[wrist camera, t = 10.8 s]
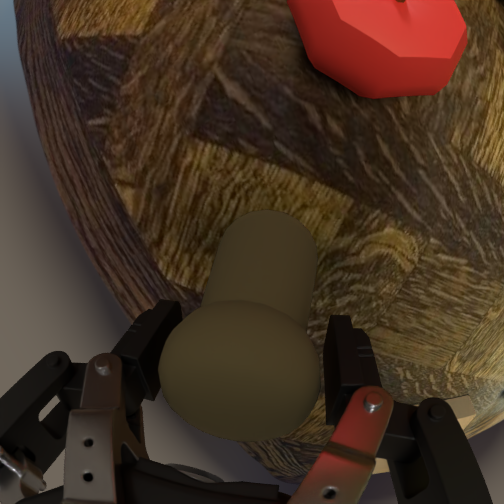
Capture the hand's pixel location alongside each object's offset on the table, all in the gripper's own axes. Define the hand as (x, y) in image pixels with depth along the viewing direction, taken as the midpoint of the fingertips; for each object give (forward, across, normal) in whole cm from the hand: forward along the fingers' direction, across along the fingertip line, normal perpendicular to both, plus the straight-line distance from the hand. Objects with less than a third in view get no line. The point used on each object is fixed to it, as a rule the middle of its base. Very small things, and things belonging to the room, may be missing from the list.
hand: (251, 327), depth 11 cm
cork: (+7, 0, 0) cm, 7 cm away
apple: (+7, -5, -13) cm, 15 cm away
